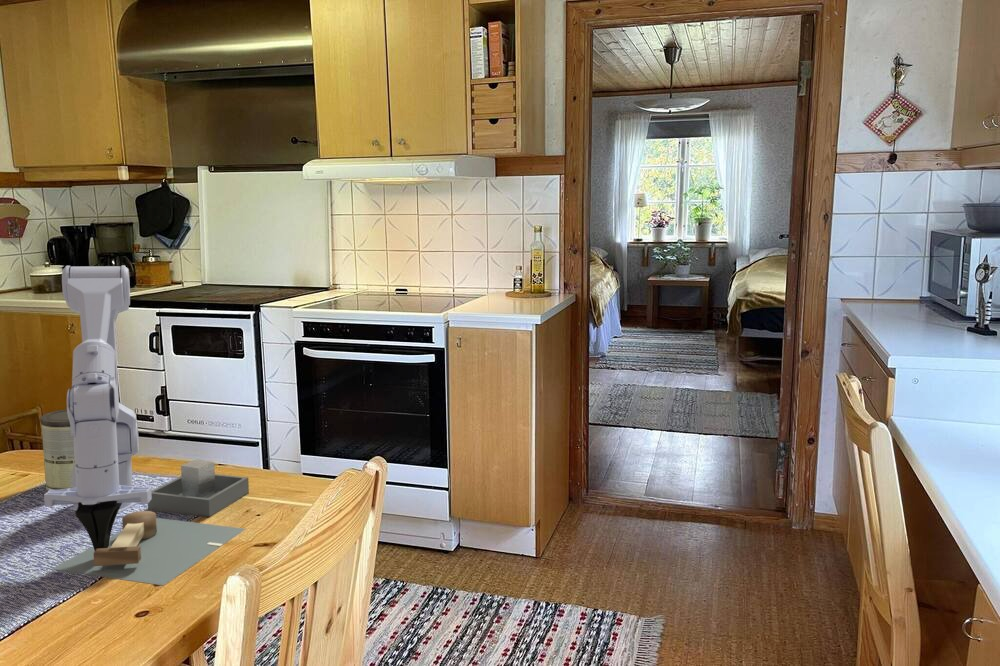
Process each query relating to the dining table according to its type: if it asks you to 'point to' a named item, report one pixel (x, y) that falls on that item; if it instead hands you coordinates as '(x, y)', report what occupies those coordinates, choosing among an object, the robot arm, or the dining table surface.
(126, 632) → the dining table surface
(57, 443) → the coffee can
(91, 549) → the crank board
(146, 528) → the crank lever
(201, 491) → the block
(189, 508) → the tray
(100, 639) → the dining table surface
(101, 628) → the dining table surface
